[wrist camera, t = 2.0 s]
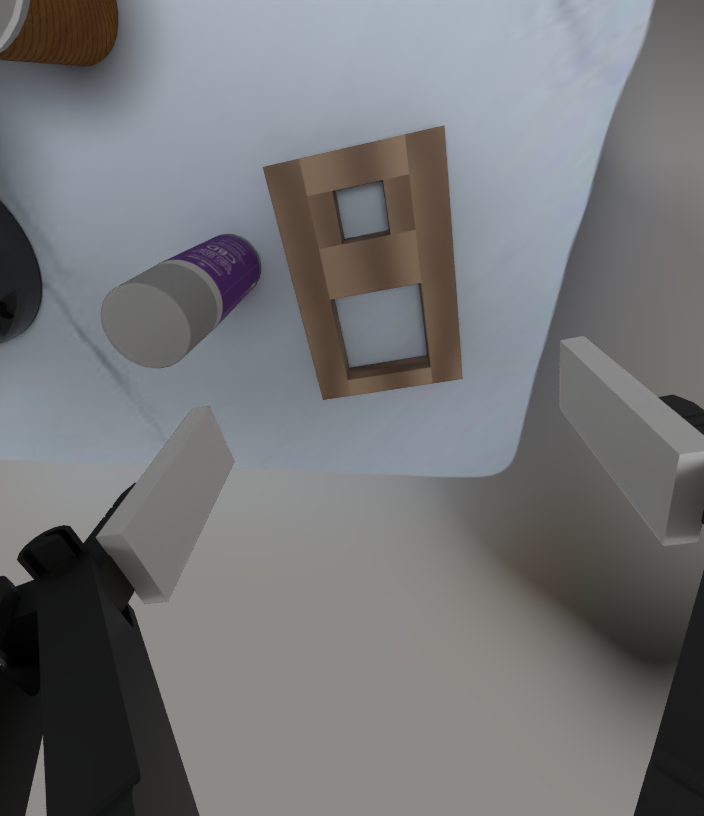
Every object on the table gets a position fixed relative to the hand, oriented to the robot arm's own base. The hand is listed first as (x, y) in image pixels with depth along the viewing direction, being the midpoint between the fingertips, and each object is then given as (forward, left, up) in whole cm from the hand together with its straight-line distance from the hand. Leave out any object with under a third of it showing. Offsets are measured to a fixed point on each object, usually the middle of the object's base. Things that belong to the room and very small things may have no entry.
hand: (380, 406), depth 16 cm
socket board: (0, 0, -21) cm, 21 cm away
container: (-11, +3, -21) cm, 24 cm away
